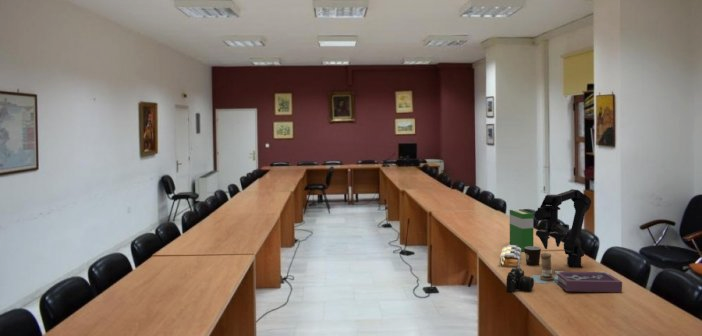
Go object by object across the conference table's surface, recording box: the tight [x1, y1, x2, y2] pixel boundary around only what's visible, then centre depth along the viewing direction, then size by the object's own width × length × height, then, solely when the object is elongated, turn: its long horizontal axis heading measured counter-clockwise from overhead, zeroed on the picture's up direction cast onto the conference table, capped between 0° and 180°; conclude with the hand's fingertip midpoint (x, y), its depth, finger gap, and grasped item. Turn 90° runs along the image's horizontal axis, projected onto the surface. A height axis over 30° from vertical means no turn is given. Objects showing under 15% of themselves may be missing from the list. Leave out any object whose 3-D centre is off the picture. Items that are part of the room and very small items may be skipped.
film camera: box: [505, 267, 535, 294], centre depth 244 cm, size 18×12×10 cm
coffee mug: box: [524, 245, 542, 267], centre depth 285 cm, size 12×9×10 cm
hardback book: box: [509, 209, 534, 253], centre depth 322 cm, size 18×7×24 cm, turn 7°
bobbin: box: [540, 253, 556, 281], centre depth 255 cm, size 7×7×12 cm
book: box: [554, 270, 623, 293], centre depth 243 cm, size 25×16×5 cm, turn 88°
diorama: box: [499, 244, 522, 268], centre depth 291 cm, size 25×10×13 cm, turn 159°
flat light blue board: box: [531, 274, 558, 285], centre depth 256 cm, size 14×14×1 cm
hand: (552, 247), depth 270 cm, fingers open, 9 cm apart
